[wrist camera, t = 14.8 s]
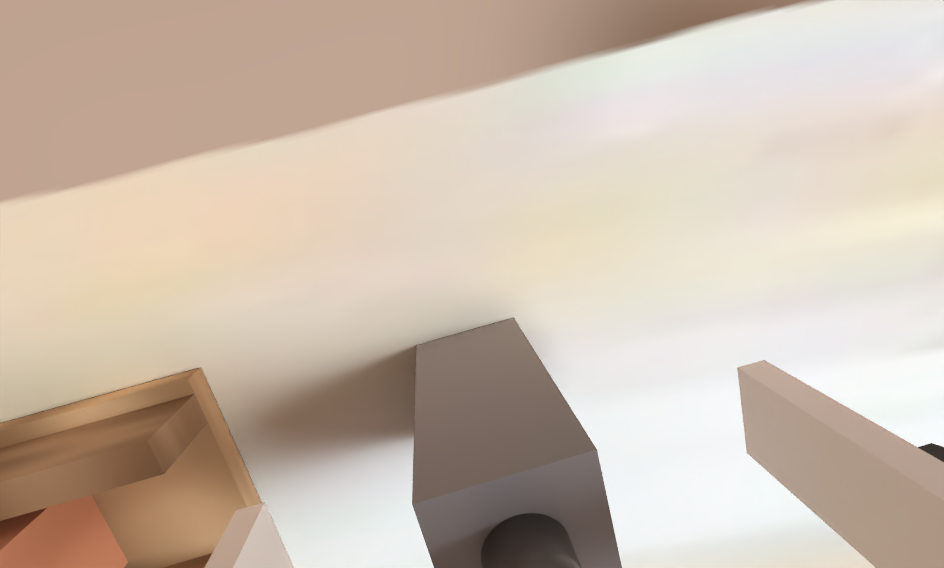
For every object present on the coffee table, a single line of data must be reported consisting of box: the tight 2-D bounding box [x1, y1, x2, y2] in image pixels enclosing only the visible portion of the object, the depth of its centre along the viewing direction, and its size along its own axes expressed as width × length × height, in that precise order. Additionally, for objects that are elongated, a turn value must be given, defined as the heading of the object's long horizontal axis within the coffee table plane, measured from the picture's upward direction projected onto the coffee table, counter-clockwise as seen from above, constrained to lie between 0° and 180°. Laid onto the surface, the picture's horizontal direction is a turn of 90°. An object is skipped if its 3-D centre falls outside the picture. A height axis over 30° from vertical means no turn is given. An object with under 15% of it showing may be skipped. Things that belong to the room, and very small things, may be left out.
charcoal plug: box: [412, 318, 622, 568], centre depth 13 cm, size 4×4×11 cm
